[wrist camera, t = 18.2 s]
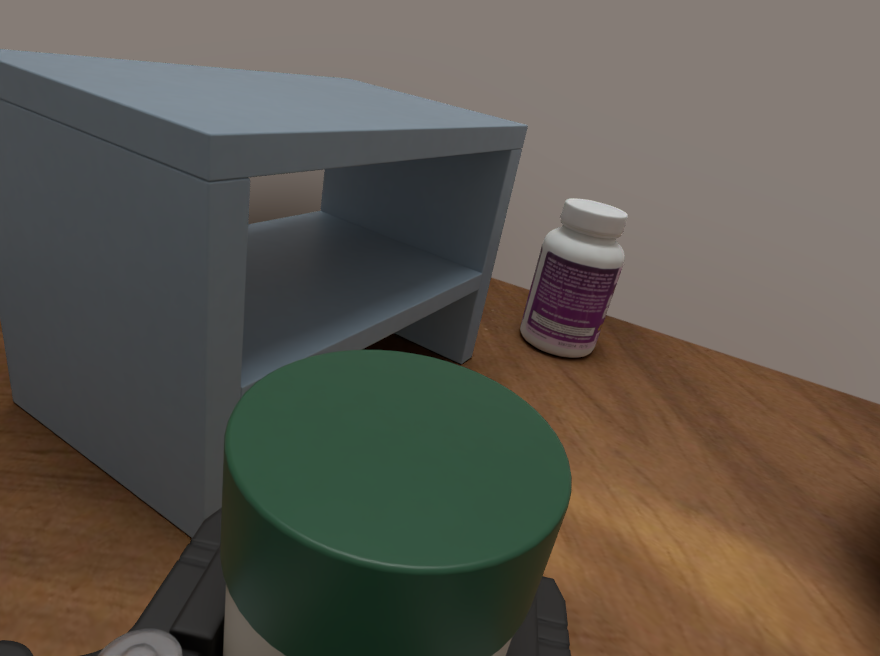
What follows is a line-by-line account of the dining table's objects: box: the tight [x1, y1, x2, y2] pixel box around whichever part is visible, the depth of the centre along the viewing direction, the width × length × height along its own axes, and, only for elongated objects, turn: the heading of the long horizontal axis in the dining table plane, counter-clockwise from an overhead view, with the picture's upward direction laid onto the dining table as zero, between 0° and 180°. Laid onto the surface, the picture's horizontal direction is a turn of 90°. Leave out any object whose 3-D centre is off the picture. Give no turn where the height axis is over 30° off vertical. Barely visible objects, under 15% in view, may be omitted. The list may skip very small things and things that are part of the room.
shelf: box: [0, 49, 528, 538], centre depth 28 cm, size 12×20×14 cm, turn 149°
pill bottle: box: [520, 198, 628, 358], centre depth 39 cm, size 5×5×10 cm
